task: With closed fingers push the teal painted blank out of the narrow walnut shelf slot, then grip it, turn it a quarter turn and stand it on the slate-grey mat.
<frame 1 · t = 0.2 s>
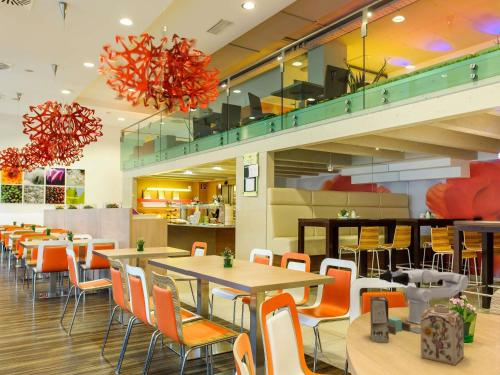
hand: (386, 278, 190), 21 cm above the table, tool horizontal, fingers open, 7 cm apart
mat: (417, 330, 184), on the table
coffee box: (379, 339, 172), on the table
shelf slot: (394, 330, 184), on the table
blank: (394, 330, 184), on the table
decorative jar: (442, 357, 151), on the table
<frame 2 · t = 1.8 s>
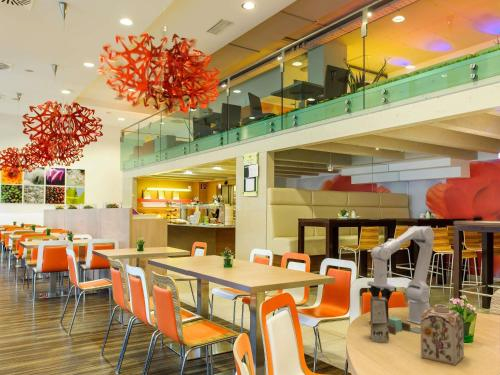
hand: (380, 304, 191), 9 cm above the table, tool pointing down, fingers open, 5 cm apart
nothing on the table moved.
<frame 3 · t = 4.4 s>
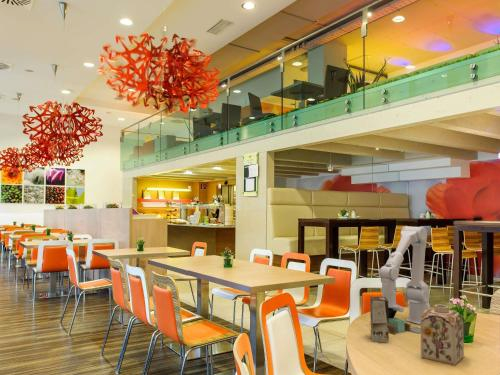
hand: (389, 325, 186), 1 cm above the table, tool pointing down, fingers closed
blank: (396, 331, 183), on the table, touching gripper
everything else where it was.
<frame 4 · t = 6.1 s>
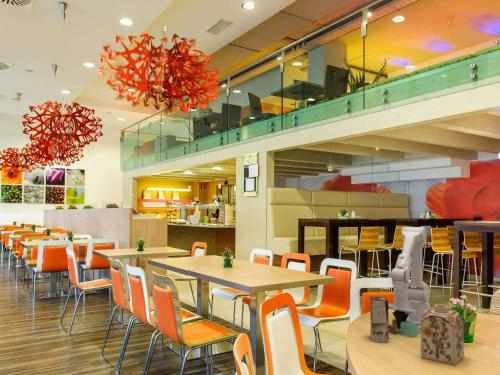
hand: (401, 329, 181), 1 cm above the table, tool pointing down, fingers closed
blank: (408, 335, 177), on the table, touching gripper
everything else where it was.
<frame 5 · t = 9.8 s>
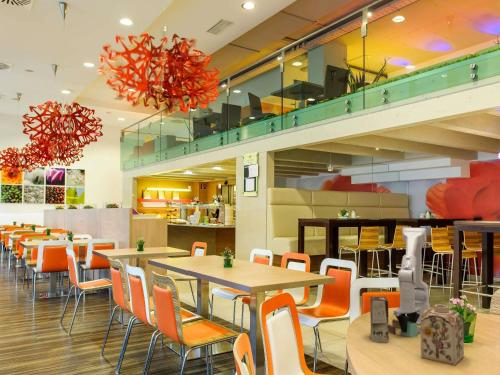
hand: (407, 331, 178), 1 cm above the table, tool pointing down, fingers closed on blank, 4 cm apart
blank: (408, 335, 177), on the table, touching gripper
everything else where it was.
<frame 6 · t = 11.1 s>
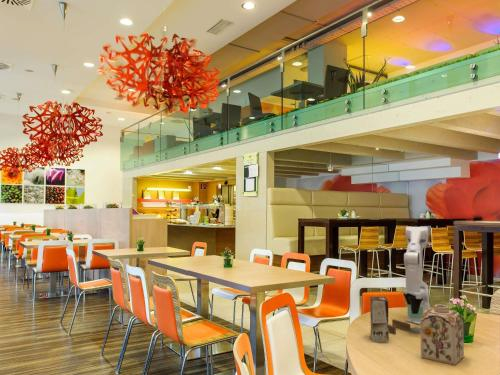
hand: (413, 312, 182), 8 cm above the table, tool pointing down, fingers closed on blank, 4 cm apart
blank: (415, 317, 182), point 6 cm above the table, touching gripper
everything else where it was.
when the fingers open (3 cm above the table, at t = 12.8 s): blank stays where it is, resting on mat.
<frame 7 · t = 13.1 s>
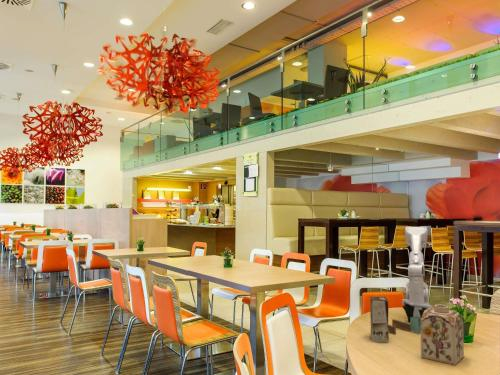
hand: (417, 324, 184), 3 cm above the table, tool pointing down, fingers open, 6 cm apart
blank: (418, 329, 184), resting on mat
everything else where it was.
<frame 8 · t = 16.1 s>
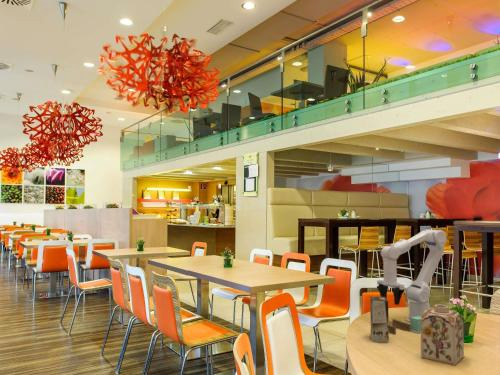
hand: (390, 302, 195), 9 cm above the table, tool pointing down, fingers open, 7 cm apart
nothing on the table moved.
at the end: blank inside the target area on the mat (0.7 cm from its centre), point 0.3 cm above the mat's base; blank tilted 0°; the gripper is holding nothing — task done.
